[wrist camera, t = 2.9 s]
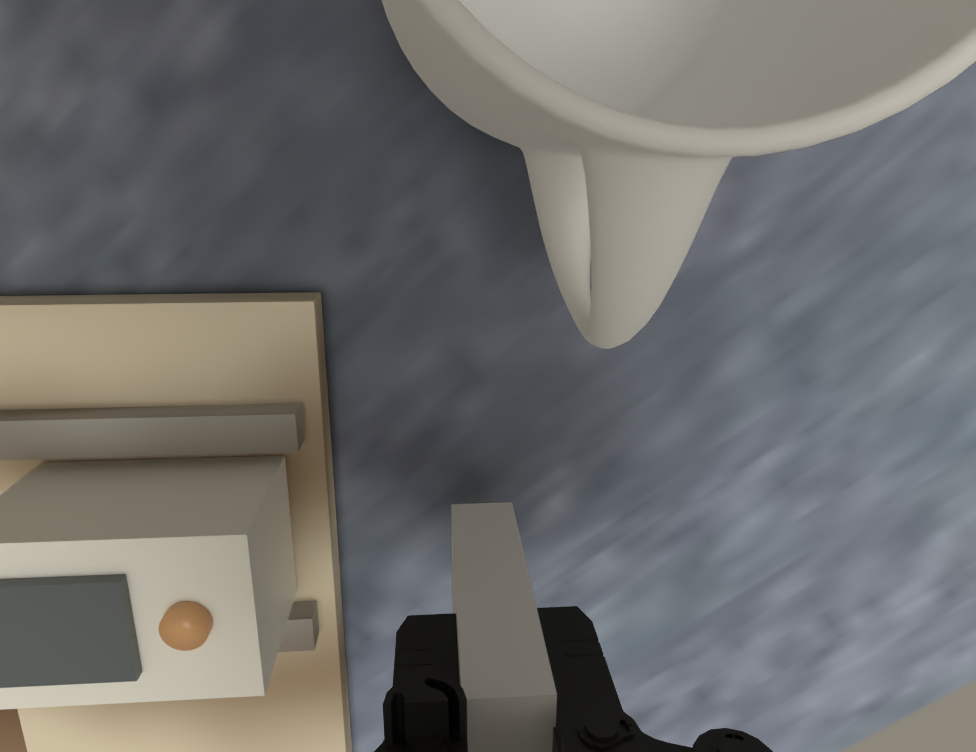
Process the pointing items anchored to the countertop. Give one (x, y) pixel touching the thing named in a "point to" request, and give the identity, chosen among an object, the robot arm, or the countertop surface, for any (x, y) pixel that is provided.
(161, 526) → the block
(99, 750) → the subfloor panel
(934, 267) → the countertop surface
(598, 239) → the mug
